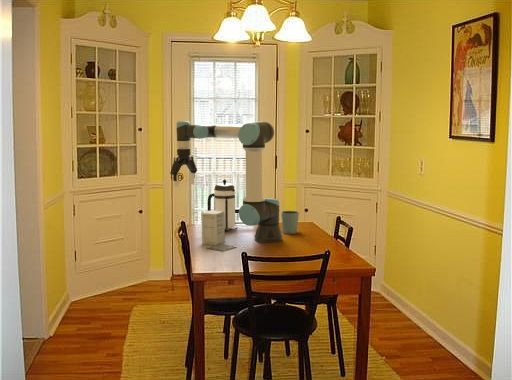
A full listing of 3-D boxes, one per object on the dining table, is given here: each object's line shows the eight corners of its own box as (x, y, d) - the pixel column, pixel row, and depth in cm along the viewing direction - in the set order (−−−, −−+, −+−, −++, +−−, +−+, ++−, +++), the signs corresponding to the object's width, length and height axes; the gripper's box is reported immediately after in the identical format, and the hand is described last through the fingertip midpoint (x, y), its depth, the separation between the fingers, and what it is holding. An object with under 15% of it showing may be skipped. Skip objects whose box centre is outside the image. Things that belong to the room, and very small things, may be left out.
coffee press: (235, 226, 363) (235, 177, 359) (238, 231, 348) (238, 180, 344) (207, 226, 361) (207, 178, 357) (209, 232, 345) (208, 181, 341)
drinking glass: (278, 232, 343) (278, 212, 342) (286, 229, 352) (287, 210, 350) (293, 234, 338) (293, 214, 336) (301, 231, 346) (301, 211, 345)
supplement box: (225, 241, 320) (225, 211, 318) (217, 245, 312) (216, 214, 309) (209, 240, 324) (209, 210, 322) (201, 243, 316) (200, 212, 313)
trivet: (236, 247, 307) (236, 246, 307) (223, 251, 298) (223, 250, 298) (220, 244, 313) (220, 243, 313) (206, 248, 304) (206, 247, 304)
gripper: (193, 147, 348) (193, 182, 351) (163, 149, 327) (164, 187, 330) (202, 147, 343) (203, 183, 346) (173, 149, 323) (174, 188, 326)
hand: (184, 185), depth 338 cm, fingers open, 13 cm apart
